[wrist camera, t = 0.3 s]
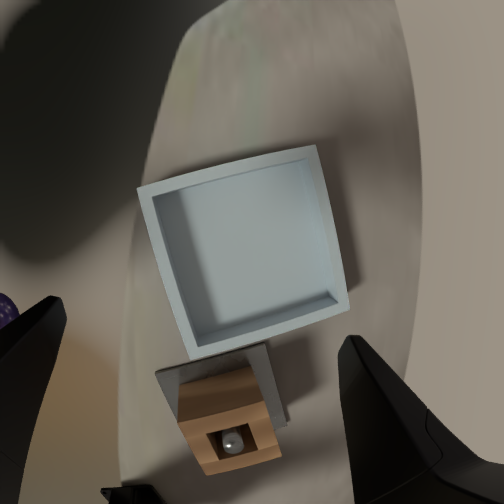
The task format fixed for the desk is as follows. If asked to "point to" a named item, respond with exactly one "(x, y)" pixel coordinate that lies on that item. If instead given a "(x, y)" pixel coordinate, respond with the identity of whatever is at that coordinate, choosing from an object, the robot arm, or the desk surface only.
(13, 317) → the toy lamp
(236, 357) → the grey peg stand
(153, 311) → the desk surface
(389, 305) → the desk surface
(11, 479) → the robot arm
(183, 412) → the wooden block with hole
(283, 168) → the tray
